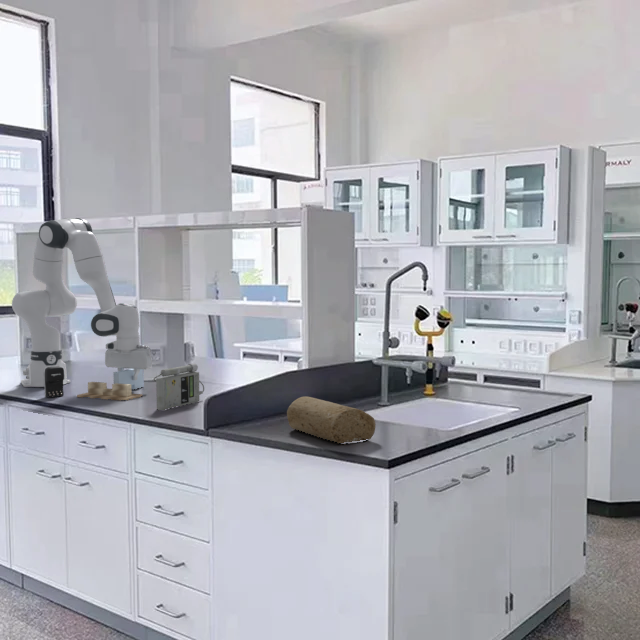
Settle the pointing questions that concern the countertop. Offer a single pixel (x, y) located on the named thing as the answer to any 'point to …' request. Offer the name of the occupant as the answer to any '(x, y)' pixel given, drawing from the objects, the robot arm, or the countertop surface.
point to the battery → (53, 381)
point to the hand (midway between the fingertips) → (128, 379)
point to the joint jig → (109, 391)
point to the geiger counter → (178, 387)
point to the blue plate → (129, 378)
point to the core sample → (330, 420)
